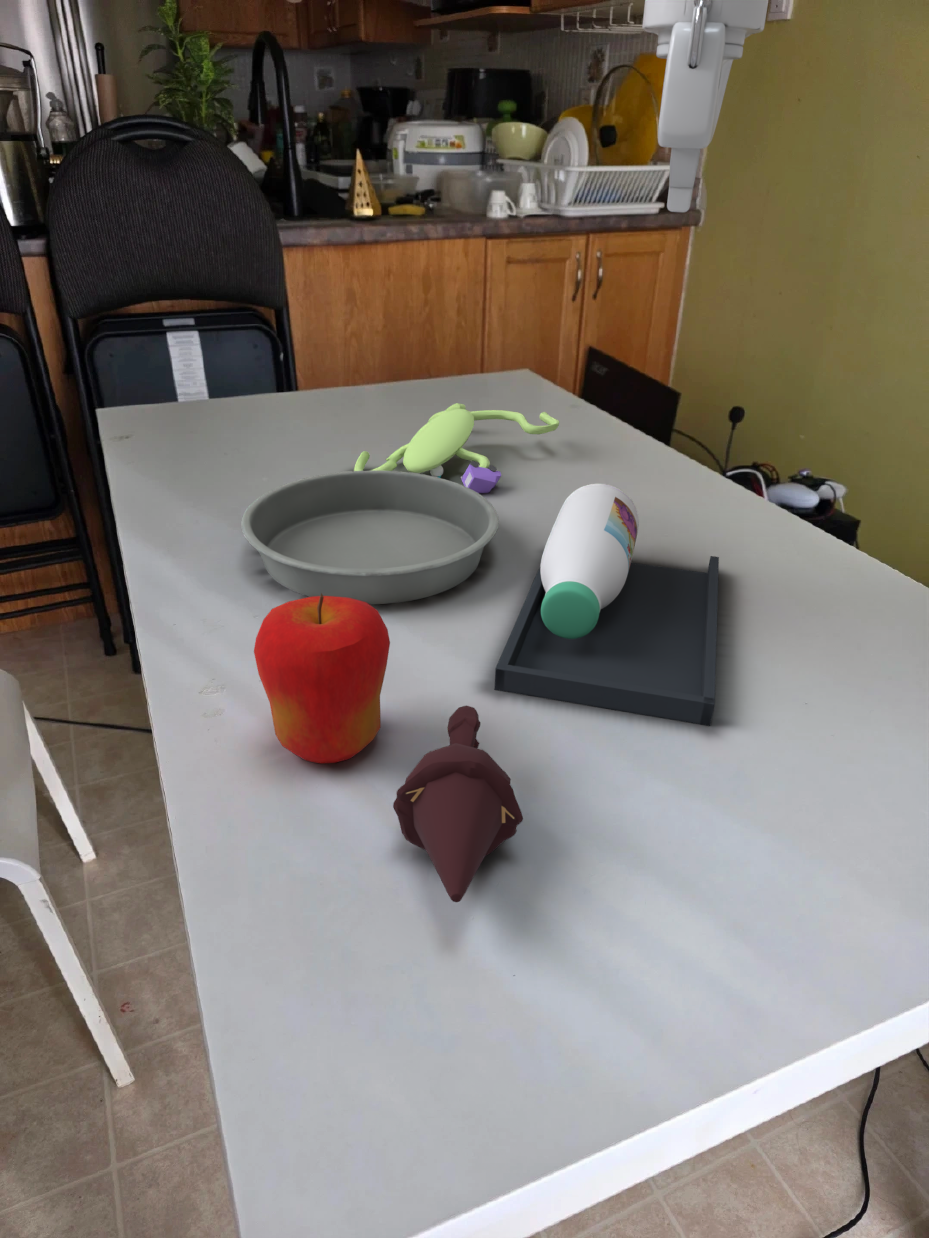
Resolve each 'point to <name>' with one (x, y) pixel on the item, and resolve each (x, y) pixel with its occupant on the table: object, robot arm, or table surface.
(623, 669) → the tray
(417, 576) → the cake pan
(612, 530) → the milk bottle
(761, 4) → the robot arm
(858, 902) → the table surface
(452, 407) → the figurine
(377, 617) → the apple
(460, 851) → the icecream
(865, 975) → the table surface
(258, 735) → the table surface
